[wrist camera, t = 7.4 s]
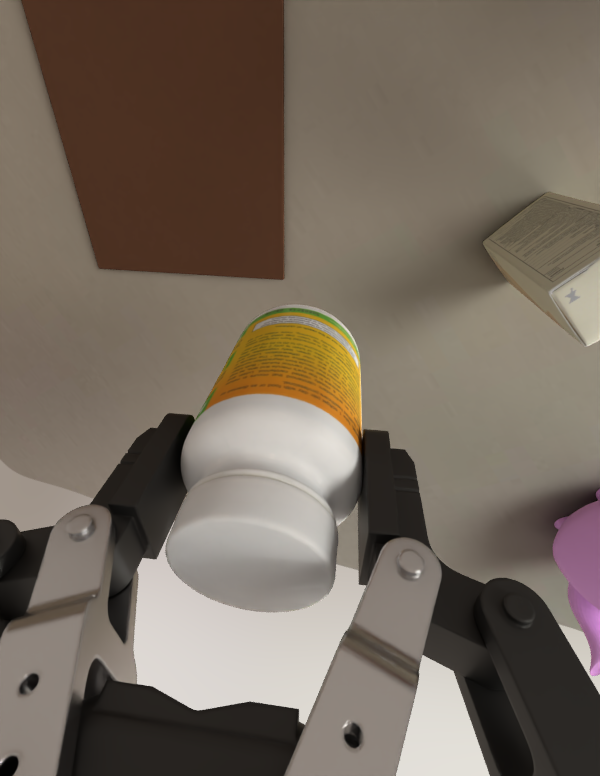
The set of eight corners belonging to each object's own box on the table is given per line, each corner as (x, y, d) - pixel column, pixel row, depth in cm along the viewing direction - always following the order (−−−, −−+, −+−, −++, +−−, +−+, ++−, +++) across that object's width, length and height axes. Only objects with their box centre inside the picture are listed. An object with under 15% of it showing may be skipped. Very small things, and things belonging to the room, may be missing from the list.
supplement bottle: (231, 298, 15) (98, 484, 7) (364, 302, 15) (379, 508, 7) (245, 403, 18) (162, 614, 10) (355, 409, 18) (357, 638, 10)
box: (508, 283, 29) (579, 353, 20) (479, 241, 27) (541, 295, 18) (580, 235, 26) (699, 290, 17) (553, 185, 25) (666, 216, 16)
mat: (-1, -96, 21) (-9, -101, 20) (283, -104, 19) (282, -109, 19) (101, 266, 32) (98, 268, 32) (284, 278, 31) (283, 279, 30)
